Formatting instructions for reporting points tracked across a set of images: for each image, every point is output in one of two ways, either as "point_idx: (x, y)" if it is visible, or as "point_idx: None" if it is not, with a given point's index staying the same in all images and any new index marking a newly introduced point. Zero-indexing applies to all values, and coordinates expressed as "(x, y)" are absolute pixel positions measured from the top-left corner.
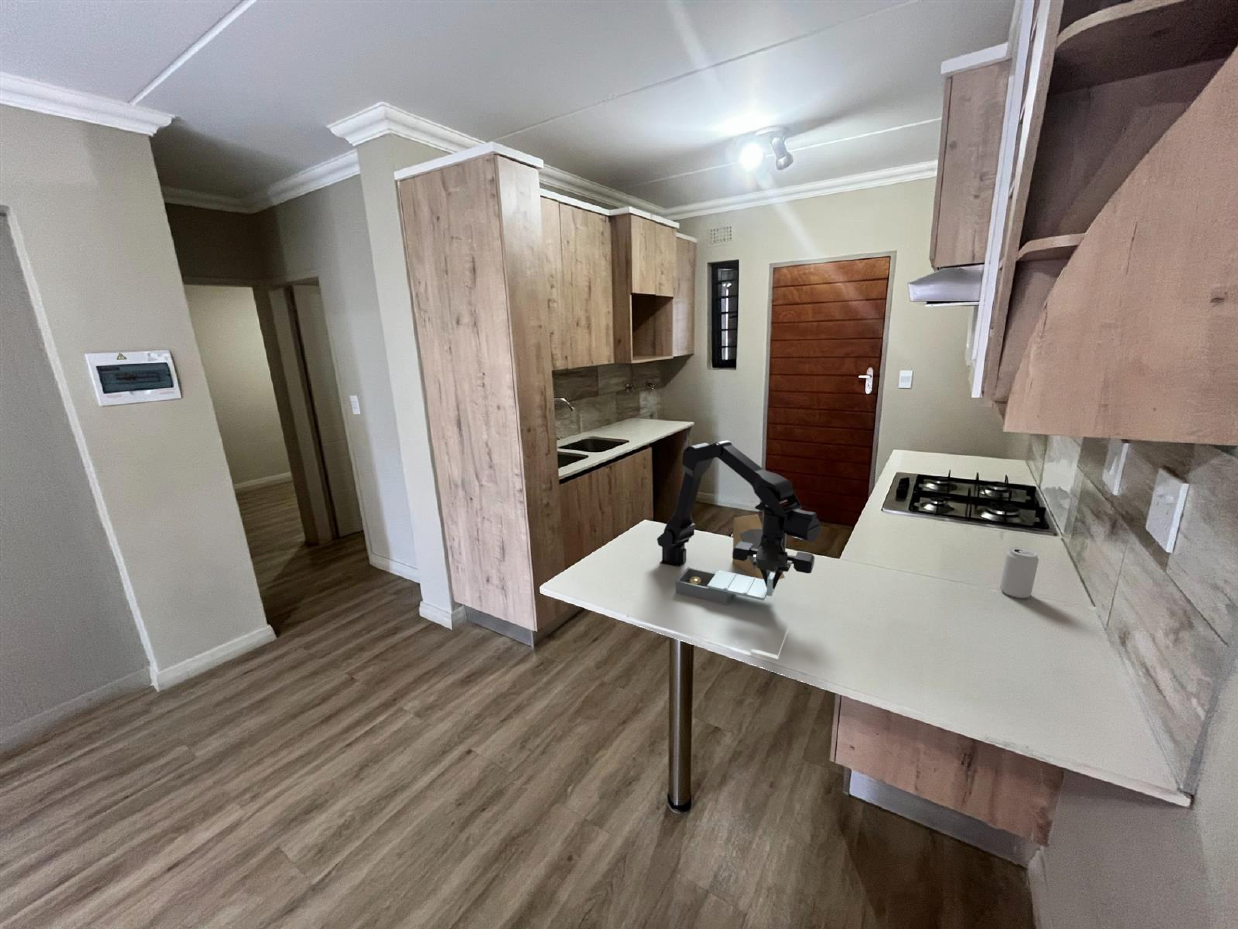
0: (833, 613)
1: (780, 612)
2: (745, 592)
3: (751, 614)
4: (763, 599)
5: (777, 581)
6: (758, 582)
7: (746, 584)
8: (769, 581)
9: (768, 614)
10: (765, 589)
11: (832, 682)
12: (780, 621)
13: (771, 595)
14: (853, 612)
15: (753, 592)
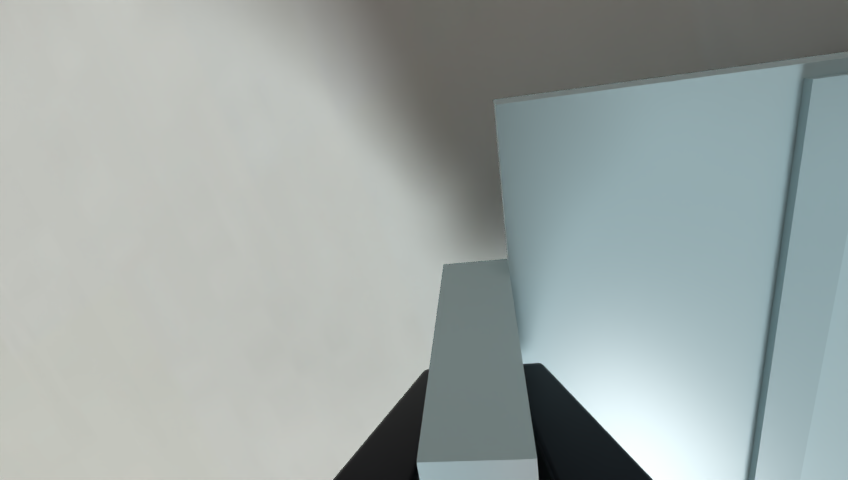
0: (89, 402)
1: (378, 235)
2: (839, 93)
3: (602, 51)
4: (501, 99)
5: (347, 468)
6: (682, 459)
7: (844, 350)
8: (484, 409)
9: (455, 147)
10: (550, 347)
11: None
12: (322, 94)
13: (443, 271)
14: (18, 461)
15: (696, 188)
